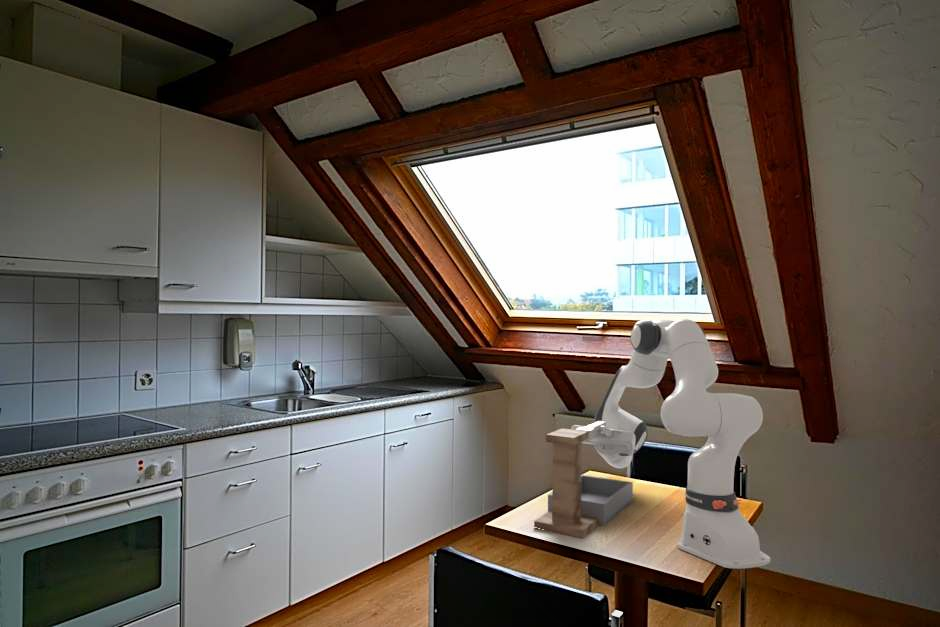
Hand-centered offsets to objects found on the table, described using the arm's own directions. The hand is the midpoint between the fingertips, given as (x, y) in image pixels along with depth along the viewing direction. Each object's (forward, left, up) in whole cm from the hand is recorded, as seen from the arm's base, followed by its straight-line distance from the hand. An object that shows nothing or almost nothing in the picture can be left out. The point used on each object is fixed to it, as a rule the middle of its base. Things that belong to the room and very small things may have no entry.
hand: (595, 427), depth 195 cm
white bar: (-1, +2, -2) cm, 3 cm away
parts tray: (-2, +2, -24) cm, 24 cm away
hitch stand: (-15, +17, -24) cm, 33 cm away
